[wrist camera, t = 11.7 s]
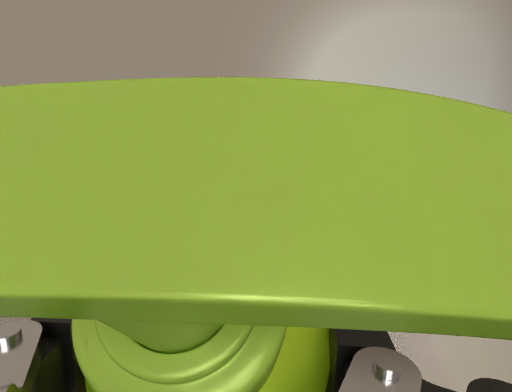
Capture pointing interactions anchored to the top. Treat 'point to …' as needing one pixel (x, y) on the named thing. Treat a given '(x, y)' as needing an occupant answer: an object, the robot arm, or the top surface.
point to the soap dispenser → (249, 224)
